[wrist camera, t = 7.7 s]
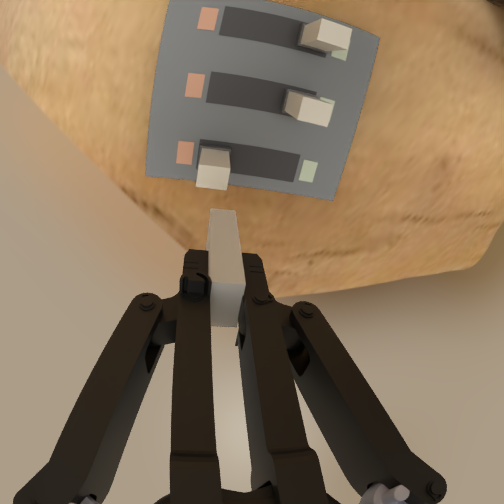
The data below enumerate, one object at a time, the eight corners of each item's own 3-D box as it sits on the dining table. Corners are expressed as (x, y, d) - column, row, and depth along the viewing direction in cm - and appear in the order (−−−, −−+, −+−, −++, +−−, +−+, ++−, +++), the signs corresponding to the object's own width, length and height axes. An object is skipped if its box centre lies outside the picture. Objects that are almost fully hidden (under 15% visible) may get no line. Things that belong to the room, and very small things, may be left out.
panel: (173, -8, 19) (171, -11, 18) (374, 37, 23) (380, 37, 22) (147, 172, 30) (145, 176, 29) (329, 196, 34) (333, 201, 33)
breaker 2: (285, 88, 25) (301, 93, 20) (314, 95, 26) (336, 103, 21) (280, 110, 26) (294, 121, 22) (309, 117, 27) (328, 130, 22)
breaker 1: (300, 24, 21) (320, 15, 16) (330, 33, 22) (355, 27, 17) (295, 45, 22) (314, 41, 18) (325, 53, 23) (349, 52, 18)
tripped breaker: (200, 143, 28) (196, 161, 23) (230, 147, 28) (233, 166, 23) (197, 165, 29) (193, 188, 24) (226, 169, 29) (228, 192, 25)
